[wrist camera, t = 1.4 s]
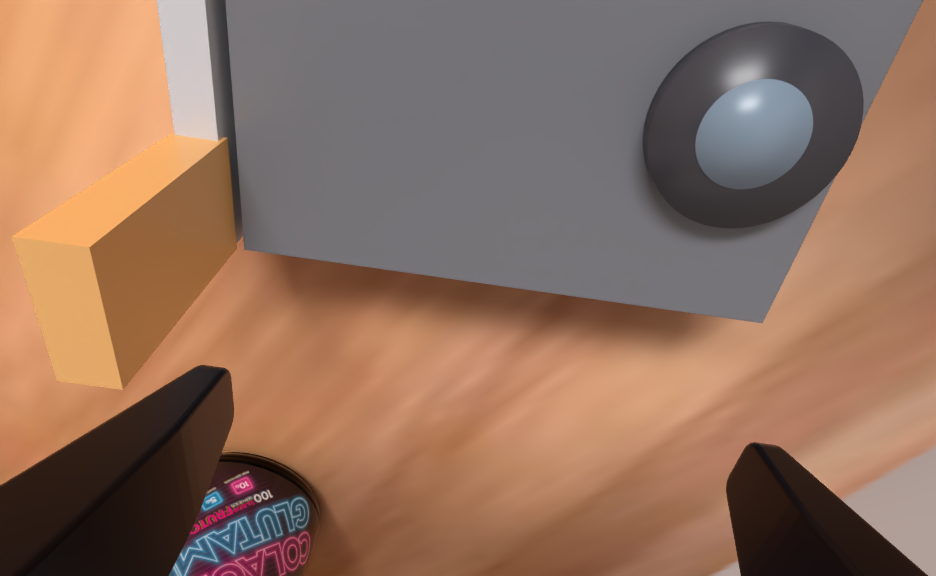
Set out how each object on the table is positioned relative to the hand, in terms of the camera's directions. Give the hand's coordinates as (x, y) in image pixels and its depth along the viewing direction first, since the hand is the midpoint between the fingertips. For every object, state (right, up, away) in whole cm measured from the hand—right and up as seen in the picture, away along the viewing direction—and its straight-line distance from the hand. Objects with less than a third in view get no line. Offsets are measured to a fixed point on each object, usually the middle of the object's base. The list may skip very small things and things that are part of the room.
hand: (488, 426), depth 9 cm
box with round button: (+2, +8, +7) cm, 11 cm away
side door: (-6, +9, +7) cm, 13 cm away
